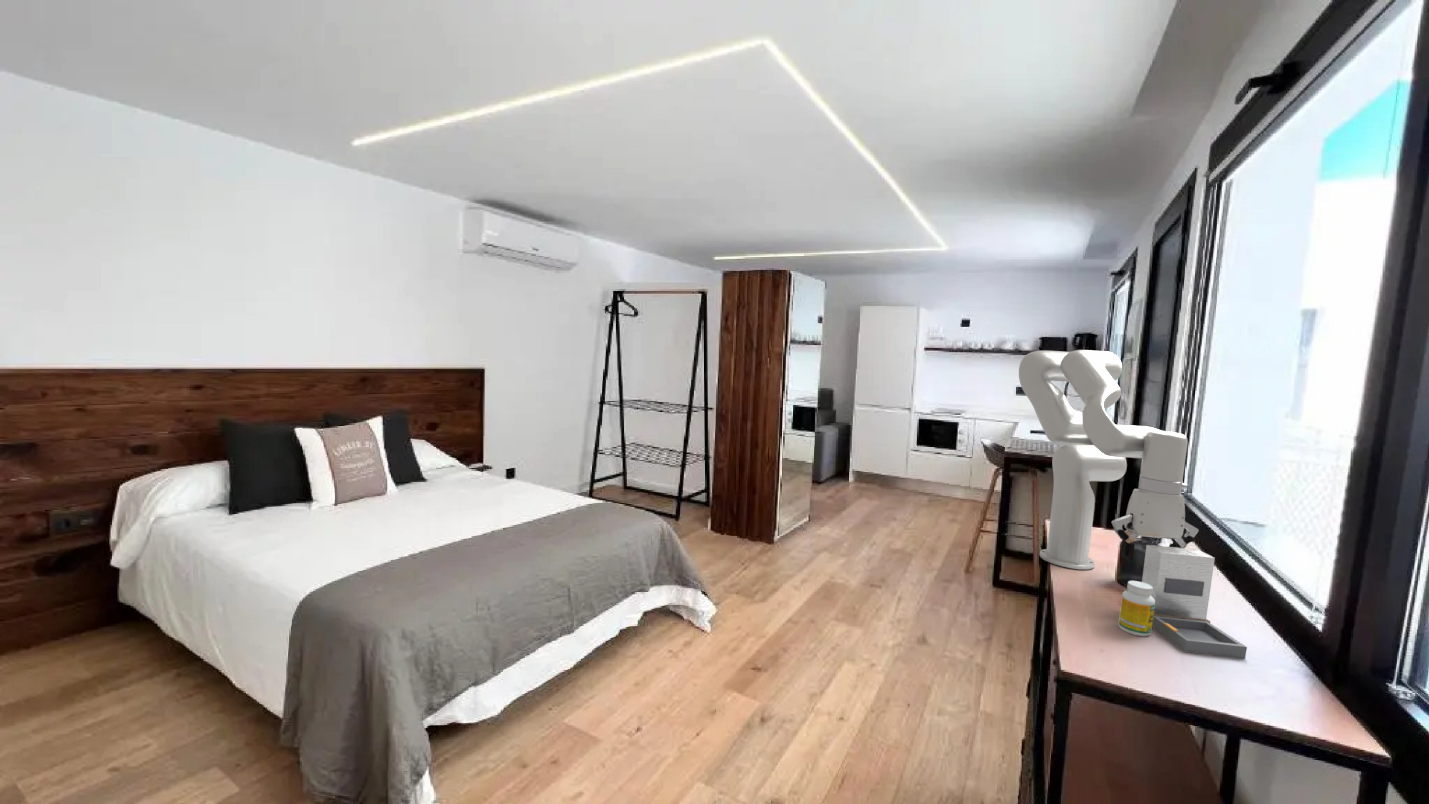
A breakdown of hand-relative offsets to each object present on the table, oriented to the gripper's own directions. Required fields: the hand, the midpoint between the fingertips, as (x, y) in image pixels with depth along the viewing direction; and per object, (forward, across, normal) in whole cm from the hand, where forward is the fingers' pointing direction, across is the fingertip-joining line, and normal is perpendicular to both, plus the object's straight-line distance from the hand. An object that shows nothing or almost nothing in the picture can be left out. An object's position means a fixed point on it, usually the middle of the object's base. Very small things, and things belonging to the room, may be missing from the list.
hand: (1150, 560), depth 130 cm
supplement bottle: (+10, +12, +17) cm, 23 cm away
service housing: (+9, 0, +9) cm, 13 cm away
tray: (+9, +2, +19) cm, 21 cm away
